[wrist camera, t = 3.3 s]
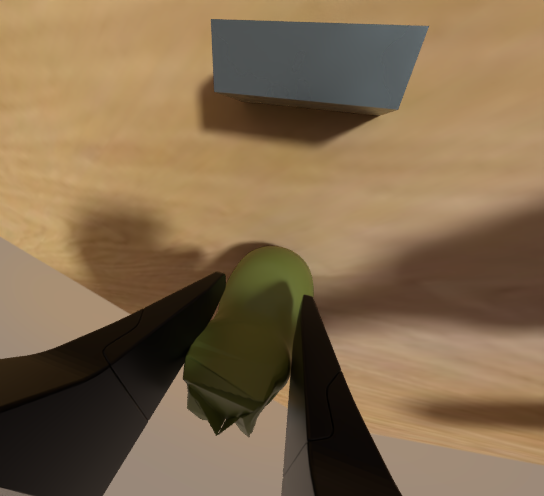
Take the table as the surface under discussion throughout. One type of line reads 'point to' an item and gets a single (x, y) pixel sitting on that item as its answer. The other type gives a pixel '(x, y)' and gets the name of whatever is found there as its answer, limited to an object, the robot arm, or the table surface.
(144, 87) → the table surface
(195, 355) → the pear
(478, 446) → the table surface
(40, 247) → the table surface
